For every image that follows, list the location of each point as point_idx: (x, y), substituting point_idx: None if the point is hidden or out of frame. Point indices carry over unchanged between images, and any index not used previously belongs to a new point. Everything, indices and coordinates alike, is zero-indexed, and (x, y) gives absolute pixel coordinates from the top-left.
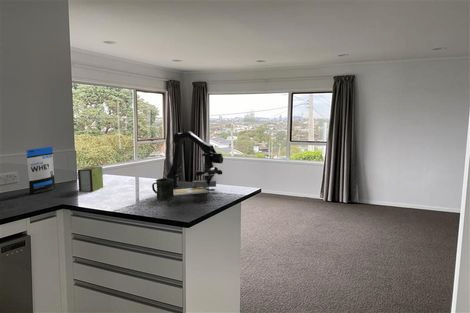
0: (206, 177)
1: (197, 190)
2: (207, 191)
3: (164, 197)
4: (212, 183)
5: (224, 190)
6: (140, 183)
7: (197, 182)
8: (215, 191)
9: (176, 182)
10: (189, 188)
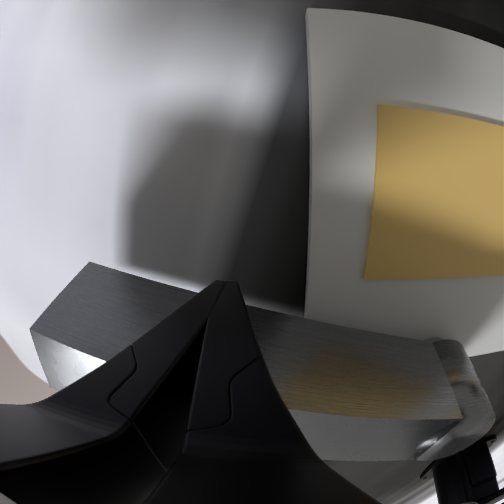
0: (319, 471)
1: (500, 151)
2: (342, 10)
3: None
4: (121, 321)
5: (20, 112)
6: (498, 480)
7: (438, 405)
8: (153, 63)
9: (465, 473)
10: (485, 347)
